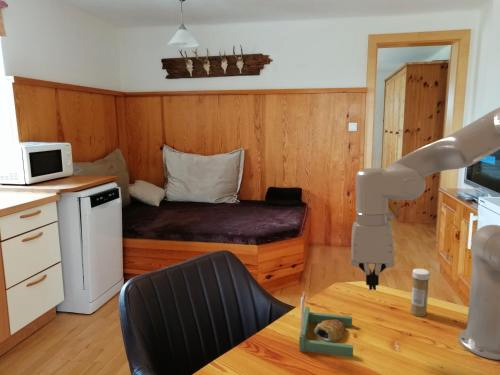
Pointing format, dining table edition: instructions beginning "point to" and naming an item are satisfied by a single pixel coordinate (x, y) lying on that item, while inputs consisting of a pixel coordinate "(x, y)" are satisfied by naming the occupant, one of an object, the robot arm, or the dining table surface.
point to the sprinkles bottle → (419, 292)
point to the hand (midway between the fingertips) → (372, 287)
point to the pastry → (329, 330)
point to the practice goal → (319, 345)
